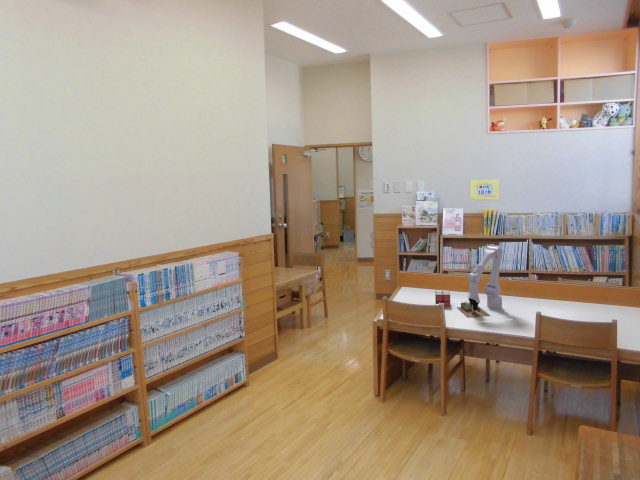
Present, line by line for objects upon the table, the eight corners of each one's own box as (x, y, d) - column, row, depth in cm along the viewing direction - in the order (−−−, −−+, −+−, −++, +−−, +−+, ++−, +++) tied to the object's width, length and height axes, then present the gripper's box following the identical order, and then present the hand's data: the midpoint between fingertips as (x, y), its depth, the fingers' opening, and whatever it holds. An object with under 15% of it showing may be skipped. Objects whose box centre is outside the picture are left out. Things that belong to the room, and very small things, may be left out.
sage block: (471, 307, 330) (471, 299, 329) (478, 312, 318) (478, 304, 317) (464, 307, 330) (464, 300, 329) (471, 313, 318) (471, 305, 317)
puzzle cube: (450, 308, 334) (450, 294, 332) (436, 307, 336) (435, 294, 334) (449, 303, 343) (449, 290, 342) (435, 303, 346) (435, 290, 344)
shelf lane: (477, 306, 333) (477, 301, 332) (490, 317, 311) (490, 310, 311) (455, 308, 332) (455, 302, 331) (467, 318, 310) (467, 312, 310)
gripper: (464, 287, 324) (464, 306, 326) (472, 293, 310) (472, 313, 312) (474, 287, 324) (474, 305, 327) (482, 293, 310) (482, 312, 312)
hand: (474, 309), depth 319 cm, fingers closed on sage block, 3 cm apart
